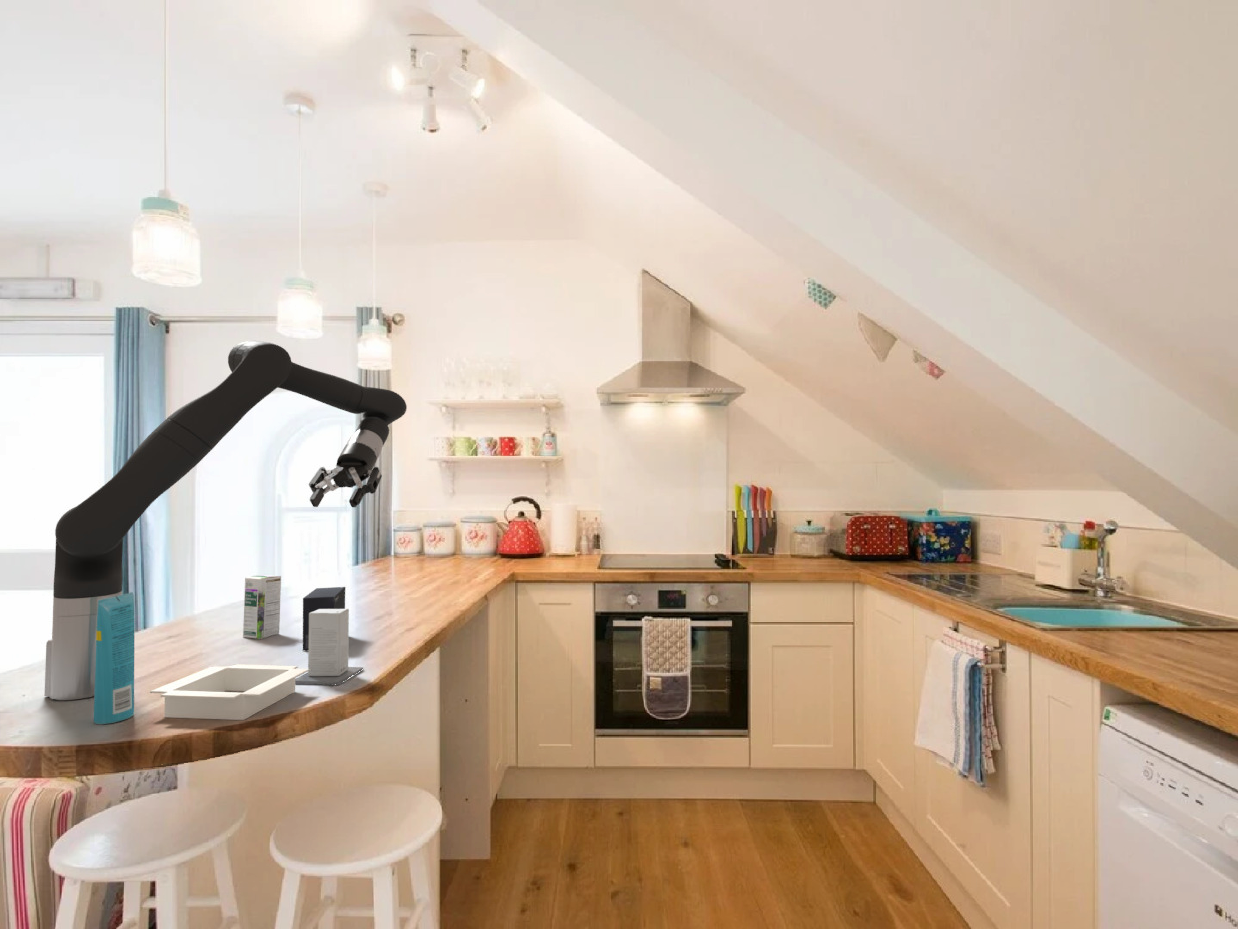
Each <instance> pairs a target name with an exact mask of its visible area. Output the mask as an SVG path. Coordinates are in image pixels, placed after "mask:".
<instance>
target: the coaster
mask: <svg viewBox="0 0 1238 929" xmlns="http://www.w3.org/2000/svg"><path fill="white" fill-rule="evenodd" d="M362 669H363V670H364V666H362V667H361V666H359V667H358V666H348V670H347V671H345V672H344V673H343V674H341V675H340V676H308V672H306V673H304V674H302V675H300V676H298V677H296V678H295V685H314V684H323V685H322V686H326V685H325V684H328V685H327V686H330V685H329V684H333V685H332V686H340V685H341V684H340V683H342V682H343V681H345V680H347V679H348V678H349V677H351V676H352V675H355V674H356V673H358V672H359V671H361V670H362ZM361 672H362V671H361ZM358 674H359V673H358ZM356 675H357V674H356ZM356 675H355V676H356ZM351 678H352V677H351ZM348 680H349V679H348ZM348 680H347V681H348ZM345 682H346V681H345ZM343 683H344V682H343ZM343 683H342V684H343ZM335 684H336V685H335ZM339 684H340V685H339Z"/></svg>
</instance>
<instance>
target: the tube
mask: <svg viewBox="0 0 1238 929" xmlns="http://www.w3.org/2000/svg"><path fill="white" fill-rule="evenodd" d="M93 697H94V699H93V700H94V701H93V702H94V703H93V723H94V724H95V725H108V724H109V725H110V724H114V723H118V722H121V721H124V720H127V719H130V718H132V717H133V716H134V714H135V598H134V593H133V592H132V591H131V592H127V593H124V594H122V595H120V596H116V597H111V598H106V599H102V600H98V612H97V631H96V667H95V696H93Z"/></svg>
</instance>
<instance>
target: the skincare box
mask: <svg viewBox="0 0 1238 929" xmlns="http://www.w3.org/2000/svg"><path fill="white" fill-rule="evenodd" d="M349 612H350V610H349V608H345V609H318V610H316V611H313V612H311V613H309V651H307V652H308V653H307V654H308V656H307V658H308V659H307V660H308V662H307V663H308V664H307V665H308V666H307V669H309V671H308V672H307V673H308V676H340V675H341V674H343V673H344V672H345V671H347V670H348V667H349V631H350V630H349V620H350V619H349V615H350V614H349Z"/></svg>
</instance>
